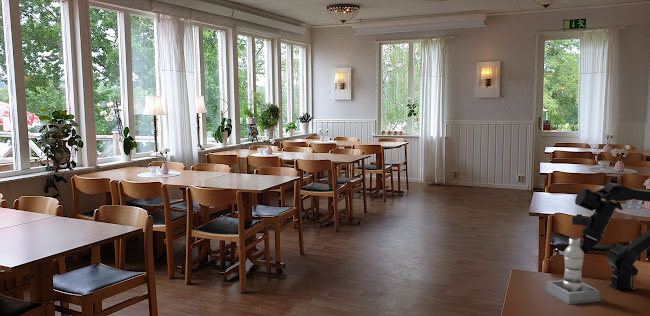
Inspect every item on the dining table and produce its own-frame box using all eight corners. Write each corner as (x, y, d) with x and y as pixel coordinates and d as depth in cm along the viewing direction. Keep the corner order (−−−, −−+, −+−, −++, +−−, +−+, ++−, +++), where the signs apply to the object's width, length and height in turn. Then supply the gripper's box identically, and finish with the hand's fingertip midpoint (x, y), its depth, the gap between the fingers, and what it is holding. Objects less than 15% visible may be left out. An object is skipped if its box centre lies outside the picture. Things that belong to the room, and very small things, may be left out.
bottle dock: (575, 287, 185) (575, 278, 184) (601, 300, 172) (602, 291, 172) (544, 290, 182) (544, 281, 182) (568, 304, 169) (569, 294, 169)
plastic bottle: (586, 296, 175) (590, 240, 173) (569, 297, 174) (572, 241, 171) (574, 290, 181) (577, 236, 179) (557, 291, 180) (560, 236, 178)
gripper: (581, 206, 194) (563, 242, 195) (577, 205, 178) (558, 244, 179) (611, 219, 188) (592, 256, 190) (610, 219, 172) (590, 259, 174)
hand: (582, 254), depth 183 cm, fingers open, 9 cm apart
